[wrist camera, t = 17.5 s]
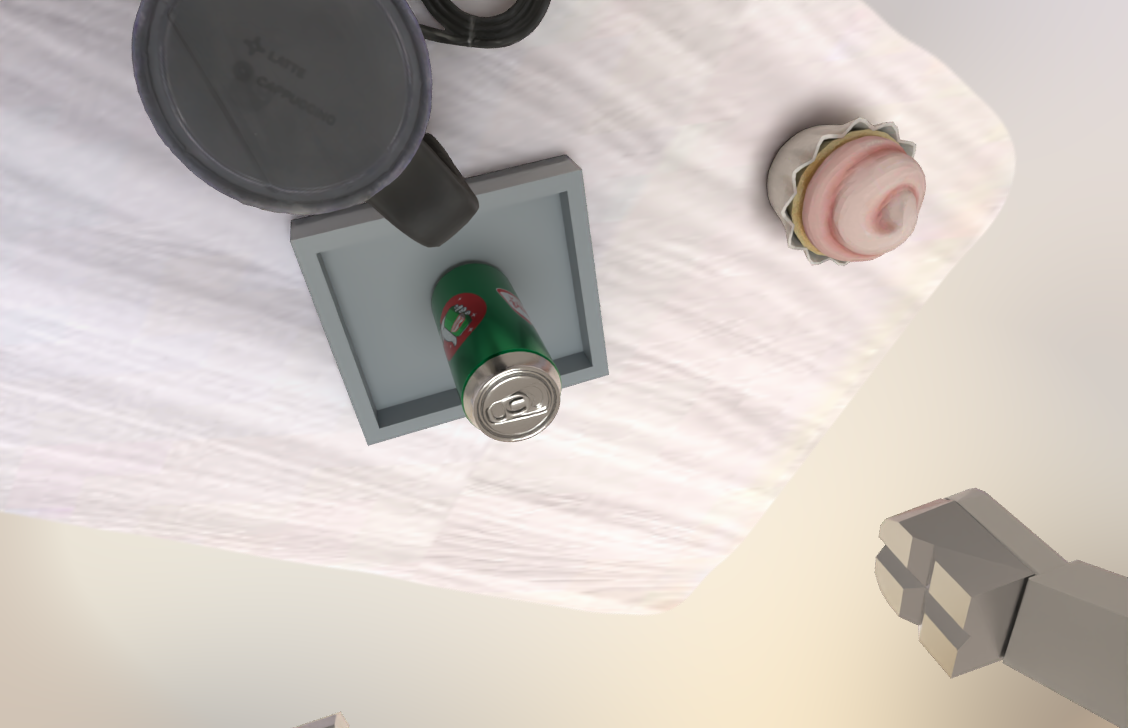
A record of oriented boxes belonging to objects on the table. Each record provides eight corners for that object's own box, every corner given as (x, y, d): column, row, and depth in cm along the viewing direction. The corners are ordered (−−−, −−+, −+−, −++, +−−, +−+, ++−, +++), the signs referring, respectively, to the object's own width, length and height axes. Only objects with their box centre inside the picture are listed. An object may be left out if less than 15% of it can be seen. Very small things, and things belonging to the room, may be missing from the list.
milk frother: (159, 57, 35) (85, 136, 23) (301, -293, 31) (300, -421, 18) (424, 195, 42) (473, 311, 30) (573, -72, 38) (701, -60, 26)
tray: (364, 418, 49) (368, 445, 46) (290, 220, 41) (290, 240, 38) (594, 352, 51) (608, 374, 49) (566, 154, 43) (581, 169, 41)
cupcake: (788, 76, 45) (895, 115, 37) (894, 128, 49) (1012, 173, 41) (717, 217, 49) (801, 280, 41) (821, 255, 53) (916, 319, 45)
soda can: (520, 318, 47) (577, 426, 37) (444, 345, 46) (482, 462, 37) (499, 247, 44) (555, 345, 34) (418, 275, 44) (451, 383, 34)
